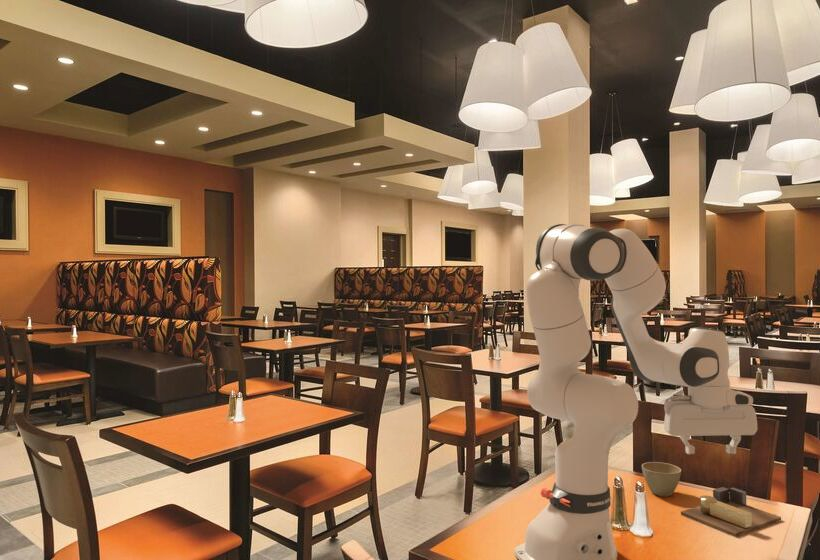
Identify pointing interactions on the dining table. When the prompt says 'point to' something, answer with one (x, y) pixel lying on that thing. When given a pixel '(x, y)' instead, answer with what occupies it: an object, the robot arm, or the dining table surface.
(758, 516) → the brown wooden board
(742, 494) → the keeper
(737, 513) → the bar
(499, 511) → the dining table surface
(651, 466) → the flower pot
